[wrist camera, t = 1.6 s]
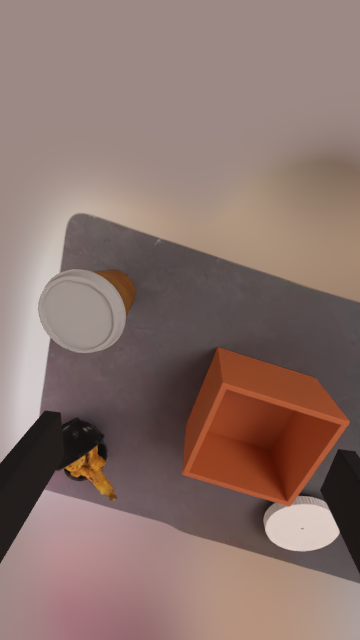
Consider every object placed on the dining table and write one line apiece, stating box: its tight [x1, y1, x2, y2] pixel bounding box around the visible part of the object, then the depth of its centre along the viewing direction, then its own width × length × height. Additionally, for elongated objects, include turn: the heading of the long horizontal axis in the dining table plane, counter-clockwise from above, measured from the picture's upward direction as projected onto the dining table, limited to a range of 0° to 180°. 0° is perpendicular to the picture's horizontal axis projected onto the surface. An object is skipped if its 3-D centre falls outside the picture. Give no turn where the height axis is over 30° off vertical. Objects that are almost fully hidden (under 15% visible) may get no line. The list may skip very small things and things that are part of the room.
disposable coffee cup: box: [38, 269, 135, 353], centre depth 31 cm, size 10×10×12 cm
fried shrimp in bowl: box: [56, 418, 117, 501], centre depth 44 cm, size 9×11×18 cm
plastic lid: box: [263, 496, 340, 551], centre depth 49 cm, size 14×14×2 cm
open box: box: [182, 347, 350, 507], centre depth 37 cm, size 17×17×10 cm
